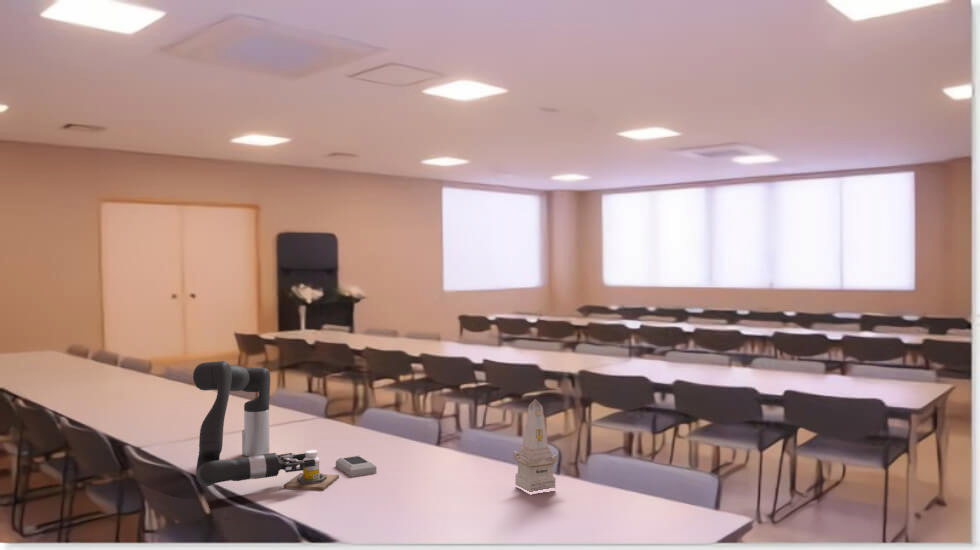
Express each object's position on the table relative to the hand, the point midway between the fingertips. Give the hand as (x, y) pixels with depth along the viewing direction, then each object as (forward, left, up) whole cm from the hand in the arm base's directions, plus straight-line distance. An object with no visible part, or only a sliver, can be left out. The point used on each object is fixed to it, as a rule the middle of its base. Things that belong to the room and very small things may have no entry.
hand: (310, 459), depth 255 cm
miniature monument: (+75, +6, -8) cm, 76 cm away
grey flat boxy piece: (+10, +18, -9) cm, 22 cm away
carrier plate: (0, 0, -8) cm, 8 cm away
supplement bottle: (0, 0, -7) cm, 7 cm away
